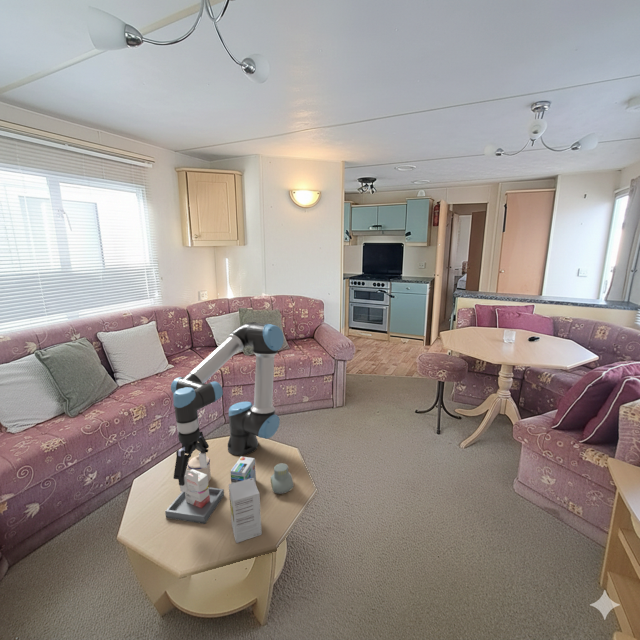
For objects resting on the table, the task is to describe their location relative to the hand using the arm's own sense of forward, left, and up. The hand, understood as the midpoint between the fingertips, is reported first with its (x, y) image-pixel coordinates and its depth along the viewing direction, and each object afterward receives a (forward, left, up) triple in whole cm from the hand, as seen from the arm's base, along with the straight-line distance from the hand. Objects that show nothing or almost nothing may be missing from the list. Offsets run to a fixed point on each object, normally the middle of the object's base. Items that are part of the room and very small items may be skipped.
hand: (194, 478), depth 132 cm
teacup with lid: (-14, -8, -12) cm, 20 cm away
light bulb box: (-14, +14, -12) cm, 23 cm away
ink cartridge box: (-1, 0, -11) cm, 11 cm away
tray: (0, 0, -12) cm, 12 cm away
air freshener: (-16, +30, -12) cm, 36 cm away
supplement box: (+7, +24, -12) cm, 28 cm away
